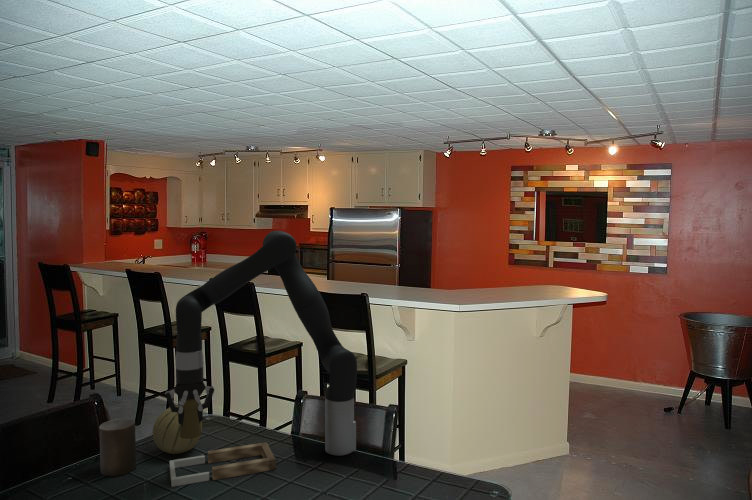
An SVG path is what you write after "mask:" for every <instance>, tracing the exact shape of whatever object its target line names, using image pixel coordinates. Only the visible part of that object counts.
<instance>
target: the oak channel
mask: <svg viewBox="0 0 752 500" xmlns="http://www.w3.org/2000/svg"><path fill="white" fill-rule="evenodd" d="M256 456H261V457H262V458H259V459H252V460H246V461H240V462H234V463H228V464H220V465H216V466H212V467H211V478H212V481H216V480H221V479H227V478H232V477H238V476H244V475H250V474H251V475H252V474H257V473H261V472H262V473H263V472H268V471H272V470H277V459H276V456H275V455H274V453H273V451H272V450H271V448H270V446H269V444H268V442H258V443H251V444H247V445H239V446H232V447H227V448H226V447H225V448H220V449H215V450H213V449H212V450H207V463H208V464H212V463H214V464H215V463H220V462H226V461H233V460H238V459H243V458H244V459H245V458H251V457H256Z"/></svg>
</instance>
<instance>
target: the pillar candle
mask: <svg viewBox="0 0 752 500" xmlns="http://www.w3.org/2000/svg"><path fill="white" fill-rule="evenodd" d="M98 429H99V458H100V460H99V461H100V474H101V475H102V476H105V477H114V476H115V477H117V476H122V475H126V474H129V473H131V472H132V471H134V470H135V469H136V468H137V442H136V441H137V439H136V421H135V419H133V418H115V419H110V420H109V421H105V422H102V423H101V424H100V425H99V427H98Z"/></svg>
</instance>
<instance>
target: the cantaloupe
mask: <svg viewBox="0 0 752 500" xmlns="http://www.w3.org/2000/svg"><path fill="white" fill-rule="evenodd" d="M175 406H176V407H178V406H179V404H178V405H175ZM202 422H203V421H200V425H201V432H203V423H202ZM180 431H181V424H179V423H178V413H177V412H172V411H171V408H170V407H168V408H166V409H165V410H163V411H162V412H161V413H160V415H158V417H157V418H156V420H155V421H154V424H153V428H152V439H153V442H154V444H155V445H156V446H157V448H158V449H159V450H161V451H163V452H164V453H167V454H171V455H178V454H183V453H186V452H188V451H190V450H192V449H193V448H194V447H195V445H197V443H199V440H200V438H201V436H202V434H201V435H200V436H199V437H196V438H192V439H184V438H181V437H180Z"/></svg>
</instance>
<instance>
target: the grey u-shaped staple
mask: <svg viewBox="0 0 752 500" xmlns="http://www.w3.org/2000/svg"><path fill="white" fill-rule="evenodd" d="M168 464H169V474H170V484H171V488H173V487H178V486H184V485H185V486H186V485H190V484H196V483H202V482H208V481H210V471H204V472H199V473H193V474H187V475H181V476H176V475H177V474H176V469H177V468H184V467H191V466H196V465H203V464H206V456H205V455H197V456H191V457H185V458H177V459H173V460H169V463H168Z"/></svg>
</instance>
